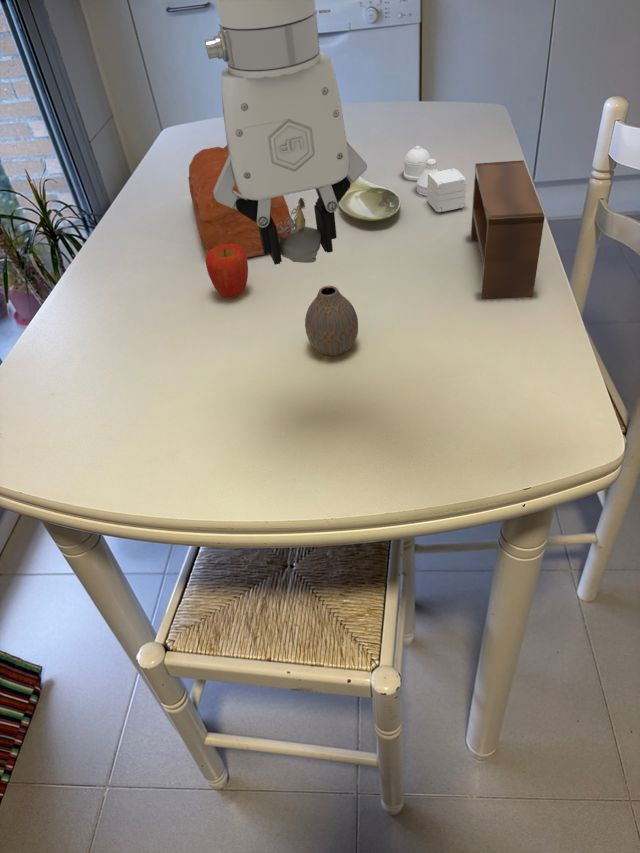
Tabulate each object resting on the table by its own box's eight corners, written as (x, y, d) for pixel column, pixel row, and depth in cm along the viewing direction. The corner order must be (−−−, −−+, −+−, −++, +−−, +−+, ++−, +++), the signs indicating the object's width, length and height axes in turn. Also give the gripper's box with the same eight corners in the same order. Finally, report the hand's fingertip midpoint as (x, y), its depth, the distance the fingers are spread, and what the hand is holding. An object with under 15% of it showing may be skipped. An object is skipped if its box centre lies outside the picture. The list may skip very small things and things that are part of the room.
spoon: (316, 168, 135) (315, 157, 134) (365, 160, 136) (365, 149, 134) (349, 233, 108) (348, 221, 107) (411, 222, 109) (411, 210, 108)
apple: (244, 306, 96) (235, 261, 91) (207, 303, 98) (195, 258, 93) (258, 283, 101) (250, 239, 95) (222, 281, 102) (212, 237, 97)
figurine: (323, 268, 62) (316, 209, 58) (277, 272, 63) (267, 214, 59) (323, 242, 66) (316, 185, 62) (280, 246, 67) (271, 190, 62)
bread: (270, 186, 127) (261, 130, 120) (299, 248, 108) (290, 186, 100) (192, 202, 125) (178, 146, 118) (206, 267, 106) (191, 206, 99)
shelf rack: (515, 235, 104) (523, 160, 95) (532, 296, 91) (544, 215, 83) (470, 237, 105) (475, 163, 96) (481, 298, 92) (488, 219, 83)
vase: (298, 353, 86) (289, 297, 80) (327, 327, 90) (321, 271, 84) (341, 368, 83) (335, 311, 77) (369, 340, 87) (366, 283, 81)
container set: (465, 209, 112) (467, 178, 108) (436, 215, 111) (437, 184, 108) (425, 167, 126) (426, 138, 123) (400, 172, 126) (399, 143, 122)
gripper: (171, 76, 48) (222, 290, 60) (387, 35, 50) (394, 250, 62) (163, 53, 53) (212, 254, 66) (358, 17, 55) (370, 218, 68)
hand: (300, 250), depth 64 cm, fingers closed on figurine, 4 cm apart
